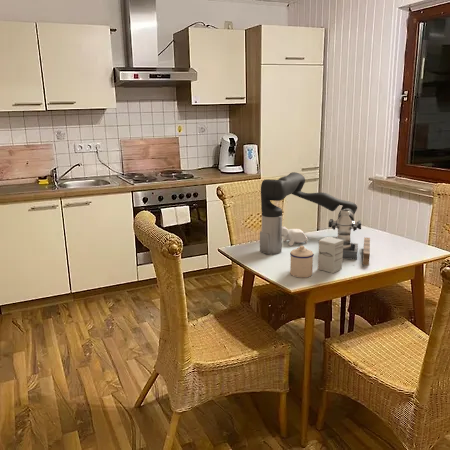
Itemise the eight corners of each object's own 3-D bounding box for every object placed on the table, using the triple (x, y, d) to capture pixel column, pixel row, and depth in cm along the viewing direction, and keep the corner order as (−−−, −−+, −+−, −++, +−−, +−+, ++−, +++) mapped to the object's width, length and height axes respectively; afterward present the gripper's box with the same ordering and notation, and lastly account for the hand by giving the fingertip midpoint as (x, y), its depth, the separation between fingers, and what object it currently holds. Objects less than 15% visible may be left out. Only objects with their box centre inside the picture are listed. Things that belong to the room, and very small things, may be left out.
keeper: (356, 259, 195) (357, 251, 194) (327, 257, 199) (327, 249, 198) (357, 250, 206) (358, 243, 205) (329, 248, 210) (330, 241, 209)
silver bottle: (351, 256, 199) (353, 212, 194) (335, 255, 200) (337, 212, 195) (350, 251, 205) (352, 209, 200) (335, 251, 206) (337, 208, 201)
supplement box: (317, 269, 184) (318, 239, 181) (326, 264, 189) (328, 236, 186) (333, 273, 179) (334, 243, 176) (342, 269, 184) (344, 239, 181)
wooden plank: (368, 265, 188) (369, 253, 187) (362, 264, 189) (363, 253, 188) (369, 248, 210) (369, 237, 209) (363, 247, 211) (364, 237, 210)
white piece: (298, 245, 226) (271, 237, 221) (304, 229, 225) (278, 221, 220) (305, 250, 218) (278, 242, 213) (311, 234, 216) (284, 225, 212)
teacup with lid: (317, 276, 177) (318, 247, 174) (297, 279, 174) (298, 251, 171) (300, 266, 188) (301, 239, 185) (281, 269, 184) (282, 242, 181)
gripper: (330, 210, 214) (327, 219, 199) (362, 212, 209) (361, 220, 194) (330, 226, 215) (327, 235, 201) (361, 228, 211) (360, 237, 196)
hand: (344, 228), depth 197 cm, fingers open, 8 cm apart
